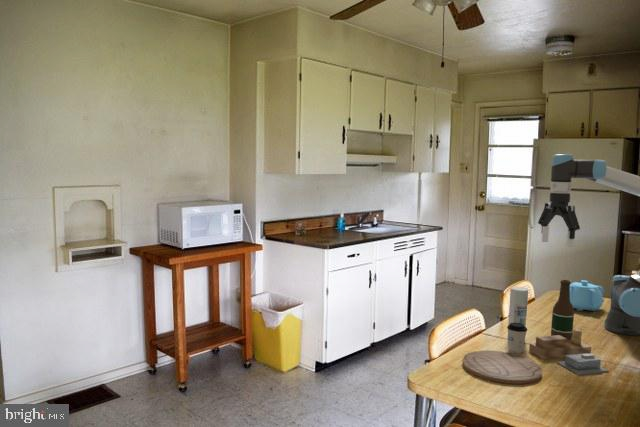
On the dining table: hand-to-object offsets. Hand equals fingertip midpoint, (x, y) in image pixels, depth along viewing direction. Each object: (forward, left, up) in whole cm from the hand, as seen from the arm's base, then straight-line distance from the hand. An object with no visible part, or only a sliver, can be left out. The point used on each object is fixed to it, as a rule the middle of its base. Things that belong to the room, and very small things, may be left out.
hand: (556, 244), depth 210 cm
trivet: (+46, +32, -37) cm, 67 cm away
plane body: (+16, +24, -36) cm, 46 cm away
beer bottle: (+6, +13, -36) cm, 39 cm away
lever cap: (+18, +37, -35) cm, 54 cm away
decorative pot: (-38, -24, -36) cm, 58 cm away
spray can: (+22, +7, -36) cm, 43 cm away
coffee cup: (+31, +19, -36) cm, 51 cm away
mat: (+18, +37, -36) cm, 54 cm away
